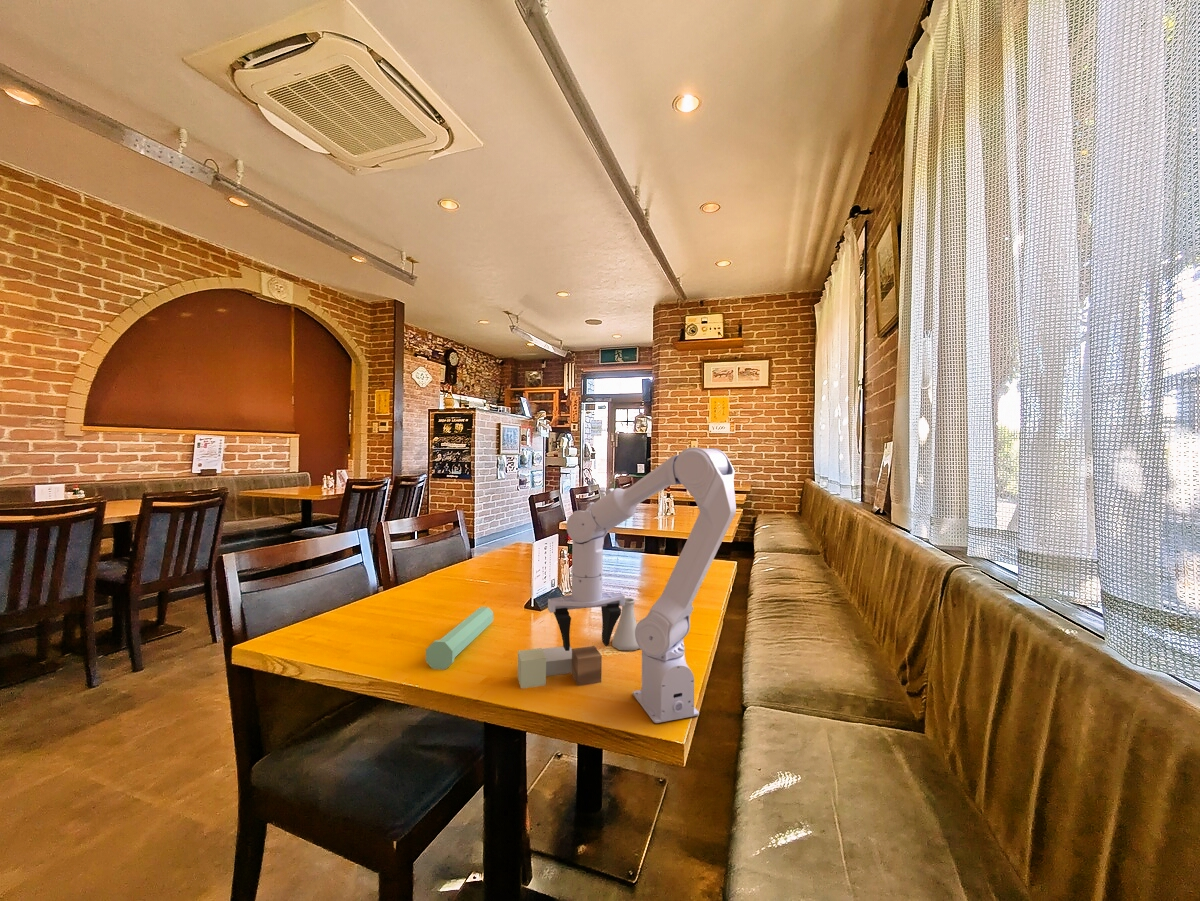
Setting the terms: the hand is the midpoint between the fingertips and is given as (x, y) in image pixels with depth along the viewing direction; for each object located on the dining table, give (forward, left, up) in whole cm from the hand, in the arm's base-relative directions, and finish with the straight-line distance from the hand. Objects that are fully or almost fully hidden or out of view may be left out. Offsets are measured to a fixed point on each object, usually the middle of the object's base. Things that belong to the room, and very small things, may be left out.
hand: (586, 646), depth 87 cm
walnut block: (0, 0, -6) cm, 6 cm away
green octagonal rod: (+23, +21, -7) cm, 32 cm away
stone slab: (+6, +4, -6) cm, 9 cm away
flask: (+12, -13, -6) cm, 19 cm away
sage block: (+2, +10, -6) cm, 12 cm away
